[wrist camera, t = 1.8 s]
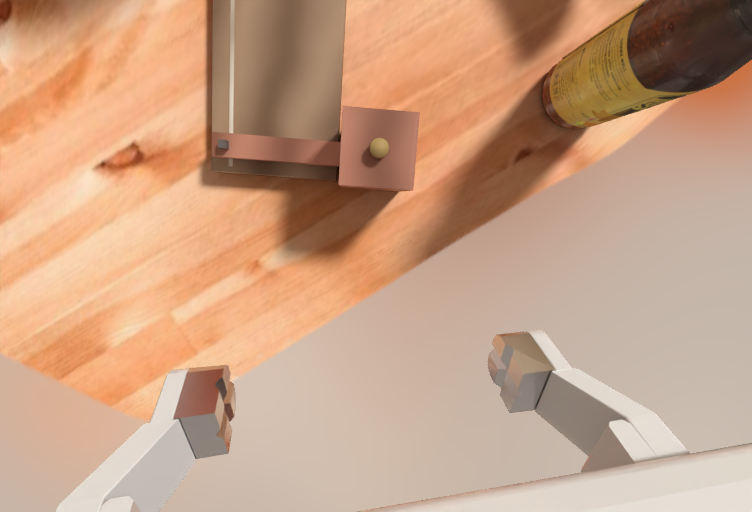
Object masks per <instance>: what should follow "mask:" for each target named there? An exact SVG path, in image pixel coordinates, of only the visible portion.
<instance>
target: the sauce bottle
mask: <svg viewBox="0 0 752 512" xmlns="http://www.w3.org/2000/svg"><path fill="white" fill-rule="evenodd" d="M750 60H752V0H645V1H644V2H642V3H641V4H639V5H638V6H636V7H635V8H634V9H632V10H631V11H629V12H628V13H626V14H625V15H623V16H622V17H621V18H619V19H618V20H616V21H615V22H613V23H612V24H610V25H609V26H607V27H606V28H605V29H603V30H602V31H600V32H599V33H597V34H596V35H594V36H593V37H592V38H590V39H589V40H587V41H586V42H584V43H583V44H582V45H580V46H579V47H577V48H576V49H574V50H573V51H572V52H570V53H569V54H567V55H566V56H564V57H563V58H562V60H561V61H560V62H559V63H558V64H556V65H554V66H553V67H552V69H551V70H550V71H549V73H548V75H547V77H546V79H545V82H544V87H543V91H542V101H543V106H544V109H545V110H546V113H547V114H548V116H549V117H550V118H551V119H552V120H553V121H554V122H555V123H556V124H558V125H560V126H562V127H566V128H572V129H577V128H582V127H591V126H595V125H598V124H601V123H604V122H607V121H610V120H613V119H616V118H619V117H622V116H625V115H628V114H631V113H635V112H638V111H640V110H643V109H647V108H650V107H653V106H655V105H659V104H662V103H665V102H668V101H670V100H673V99H676V98H680V97H683V96H686V95H688V94H692V93H695V92H698V91H701V90H703V89H706V88H709V87H711V86H714V85H716V84H718V83H720V82H721V81H723V80H725V79H726V78H727V77H729V76H730V75H731V74H732V73H734V72H735V71H737V70H738V69H739V68H741V67H742V66H743V65H745V64H746V63H747V62H749V61H750Z"/></svg>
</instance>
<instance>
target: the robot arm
mask: <svg viewBox="0 0 752 512" xmlns="http://www.w3.org/2000/svg"><path fill="white" fill-rule="evenodd" d="M492 344H493V346H494V348H495V349H494V350H493V351H492V352H490V354H489V358H488V369H489V372H490V376H491V378H492V380H493V382H494V383H495V384H496V385H498V386H499V387H501V388H502V389H501V393H500V396H501V397H502V399H503V401H504V403H505V405H506V407H507V409H508V411H509V413H514V412H523V411H532V410H536V412H537V413H538V414H539V415H540V416H541V417H542V418H544V419H545V420H546V421H547V422H548V423H550V424H551V425H552V426H553V427H554V428H556V429H557V430H558V431H559V432H560V433H562V434H563V435H564V436H565V437H566V438H568V439H569V440H570V441H571V442H572V443H573V444H575V445H576V446H577V447H578V448H579V449H581V450H582V451H583V452H584V453H585V454H587V455H588V456H589V457H588V459H587V461H586V462H585V464H584V466H583V467H582V470H581V473H577V474H571V475H565V476H559V477H553V478H548V479H542V480H536V481H531V482H525V483H519V484H513V485H508V486H502V487H497V488H490V489H485V490H480V491H473V492H467V493H462V494H456V495H450V496H444V497H439V498H433V499H427V500H421V501H416V502H410V503H404V504H398V505H393V506H387V507H381V508H376V509H370V510H364V511H358V512H752V443H748V444H743V445H737V446H731V447H725V448H720V449H714V450H709V451H703V452H697V453H692V454H690V453H689V452H688V451H687V450H686V448H685V447H684V446H683V445H682V444H681V442H680V441H679V440H678V439H677V438H676V437H675V435H674V434H673V433H672V432H671V431H670V430H669V429H668V428H667V426H666V425H665V424H664V423H663V422H662V421H661V419H660V418H659V417H658V416H657V415H656V414H655V413H654V412H652V411H650V410H648V409H647V408H645V407H643V406H642V405H640V404H638V403H636V402H635V401H633V400H631V399H629V398H628V397H626V396H624V395H622V394H621V393H619V392H617V391H615V390H614V389H612V388H610V387H608V386H607V385H605V384H603V383H602V382H600V381H598V380H596V379H595V378H593V377H591V376H589V375H587V374H586V373H584V372H583V371H581V370H579V369H577V368H571V366H570V365H569V364H568V362H567V361H566V360H565V358H564V357H563V356H562V354H561V353H560V352H559V350H558V349H557V348H556V347H555V345H554V344H553V343H552V341H551V340H550V338H549V337H548V336H547V335H546V333H545V332H544V331H542V330H534V331H526V332H516V333H508V334H499V335H496V336H495V337H494V339H493V342H492ZM229 379H230V370H229V367H228V365H221V366H210V367H198V368H189V369H178V370H171V371H170V372H169V373H168V374H167V376H166V379H165V382H164V385H163V387H162V390H161V393H160V396H159V399H158V401H157V404H156V407H155V410H154V413H153V416H152V418H151V421H150V423H144V424H143V425H142V426H141V427H140V428H139V429H138V430H137V431H136V432H135V433H134V434H133V435H131V436H130V437H129V438H128V439H127V440H126V441H125V442H124V443H123V444H122V445H121V446H120V447H119V448H118V449H117V450H116V451H115V452H114V453H113V454H112V455H111V456H109V457H108V458H107V459H106V460H105V461H104V462H103V463H102V464H101V465H100V466H99V467H98V468H97V469H96V470H95V471H94V472H93V473H92V474H91V475H89V476H88V477H87V478H86V479H85V480H84V481H83V482H82V483H81V484H80V485H79V486H78V487H77V488H76V489H75V490H74V491H73V492H72V493H71V494H70V495H68V496H67V497H66V498H65V499H64V500H63V501H62V502H61V503H60V504H59V506H58V508H57V510H56V512H160V510H161V509H162V507H163V506H164V505H165V503H166V502H167V501H168V499H169V498H170V496H171V495H172V493H173V492H174V491H175V489H176V488H177V487H178V485H179V484H180V483H181V481H182V480H183V479H184V477H185V476H186V474H187V473H188V472H189V470H190V469H191V467H192V466H193V465H194V463H195V462H196V459H198V458H204V457H210V456H216V455H222V454H228V452H229V447H230V441H231V434H232V429H231V426H230V423H229V422H230V421H231V420H232V418H233V417H234V415H235V407H236V396H235V388H234V384H233V383H232V382H230V381H229Z"/></svg>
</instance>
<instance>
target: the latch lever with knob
mask: <svg viewBox="0 0 752 512" xmlns="http://www.w3.org/2000/svg"><path fill="white" fill-rule="evenodd" d="M419 115H420V113H418V112H406V111H395V110H383V109H371V108H360V107H348V106H343V112H342V131H341V142H334V141H321V140H309V139H296V138H284V137H271V136H259V135H246V134H234V133H221V132H212V156H213V157H217V158H230V159H243V160H256V161H270V162H283V163H296V164H309V165H323V166H336V167H339V186H341V187H344V188H358V189H372V190H386V191H411V190H413V186H414V174H415V162H416V150H417V139H418V127H419Z"/></svg>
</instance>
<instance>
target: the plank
mask: <svg viewBox="0 0 752 512" xmlns="http://www.w3.org/2000/svg"><path fill="white" fill-rule="evenodd" d="M345 17H346V0H213V31H212V132H221V133H234V134H246V135H259V136H271V137H284V138H296V139H309V140H321V141H334V142H339V129H340V110H341V91H342V73H343V54H344V35H345ZM212 171H213V172H220V173H234V174H247V175H261V176H275V177H288V178H302V179H316V180H329V181H337V167H336V166H323V165H309V164H296V163H283V162H270V161H256V160H243V159H230V158H217V157H213V156H212Z"/></svg>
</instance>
